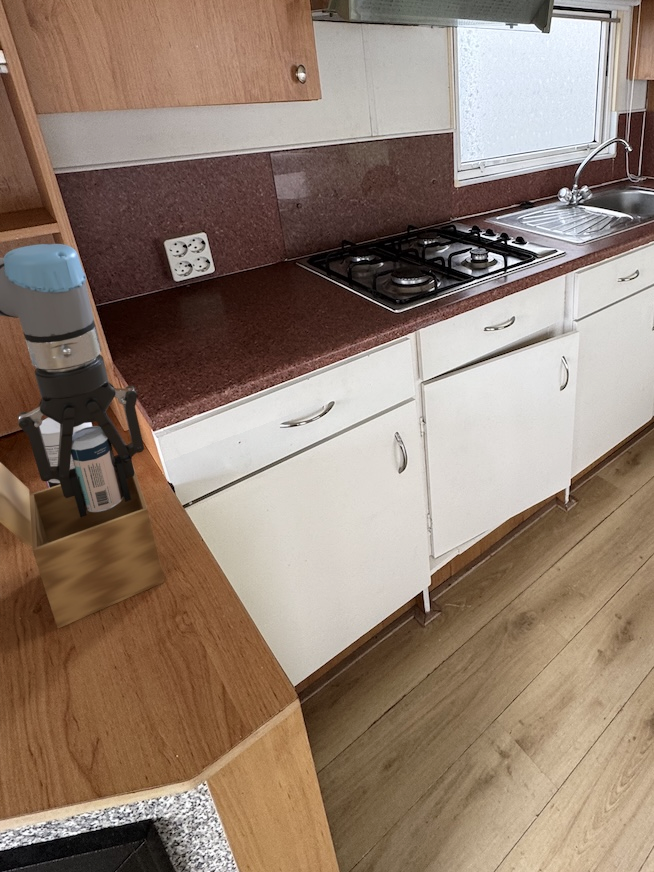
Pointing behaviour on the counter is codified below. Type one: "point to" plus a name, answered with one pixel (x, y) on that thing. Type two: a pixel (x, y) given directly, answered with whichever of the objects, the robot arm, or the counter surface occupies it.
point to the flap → (15, 506)
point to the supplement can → (55, 443)
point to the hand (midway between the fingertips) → (105, 503)
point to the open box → (92, 552)
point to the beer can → (96, 469)
